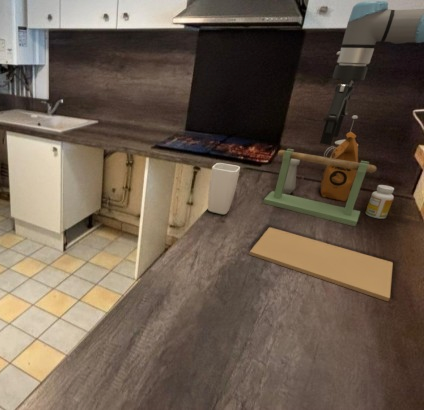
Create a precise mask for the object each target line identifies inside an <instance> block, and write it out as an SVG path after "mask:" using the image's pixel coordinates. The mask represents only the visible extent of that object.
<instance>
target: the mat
mask: <svg viewBox="0 0 424 410" xmlns="http://www.w3.org/2000/svg"><path fill="white" fill-rule="evenodd" d="M248 255H249V256H252V257H254V258H258V259H261V260H264V261H266V262H270V263H272V264H276V265H278V266H282V267H285V268H288V269H290V270H294V271H297V272H299V273H302V274H305V275H308V276H311V277H314V278H317V279H320V280H323V281H325V282H329V283H332V284H335V285H337V286H341V287H343V288H346V289H349V290H352V291H354V292H355V291H356V292H358V293H361V294H364V295H367V296H370V297H373V298H376V299H379V300H382V301H385V302H387V303H388V302H390V299H391V289H392V279H393V278H392V277H393V267H394V266H393V265H394V263H393V261H389V260H386V259H382V258H378V257H376V256H372V255H368V254H365V253H361V252H358V251H354V250H350V249H348V248H343V247H340V246H336V245H333V244H330V243H327V242H324V241H320V240H315V239H313V238H309V237H305V236H302V235H299V234H295V233H291V232H288V231H285V230H282V229H278V228H274V227H271V226H269V227H268V228H267V230H265V231H264V233H263V234H262V236H261V237H260V238H259V239H258V241H257V242H256V243H255V244H254V245H253V247H252V248H251V249H250V251H249V253H248Z"/></svg>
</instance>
